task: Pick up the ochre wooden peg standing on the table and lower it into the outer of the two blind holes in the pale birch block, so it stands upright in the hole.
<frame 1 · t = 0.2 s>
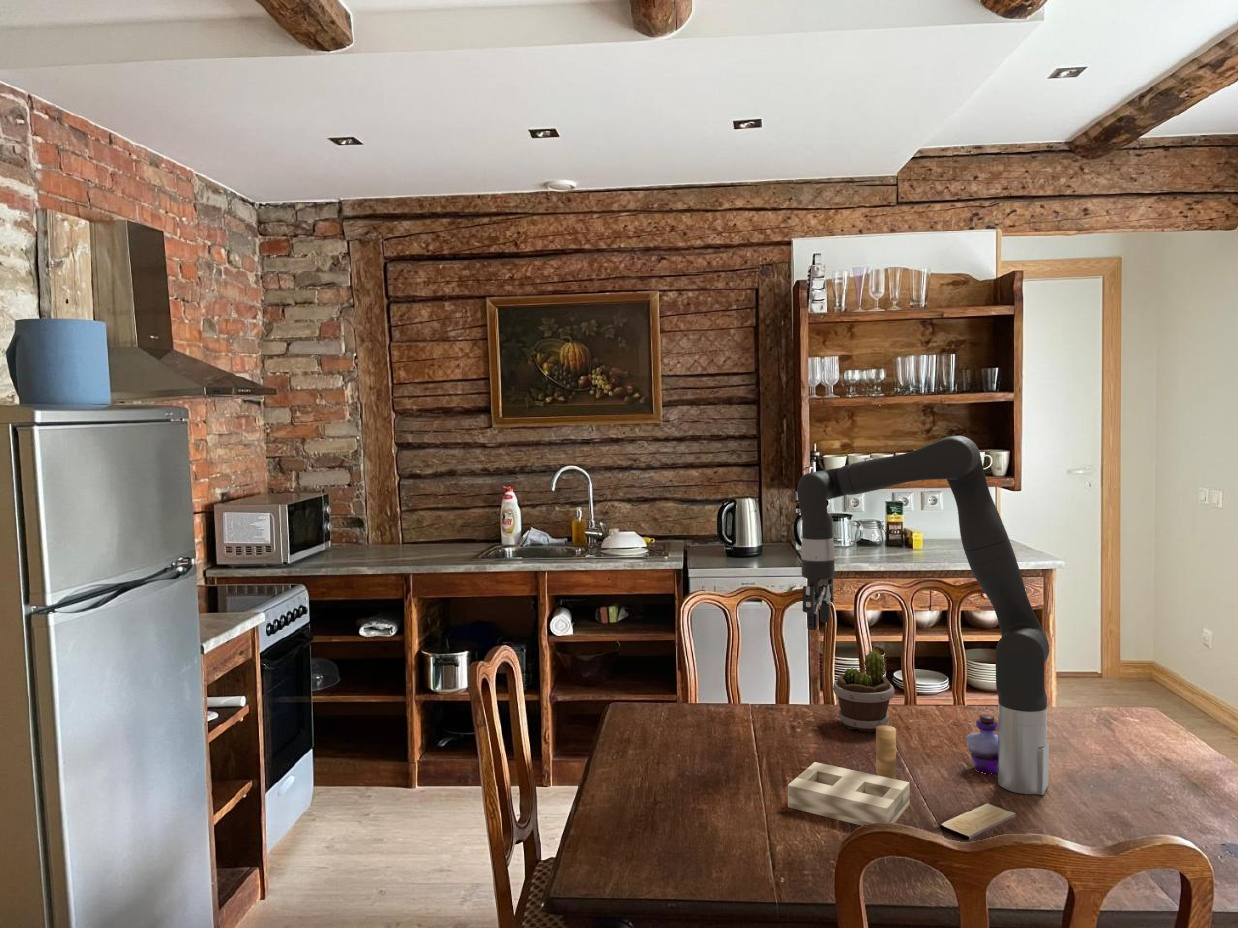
hand: (818, 625, 210), 29 cm above the table, tool pointing down, fingers open, 8 cm apart
flowerpot: (863, 726, 225), on the table
potion bottle: (986, 770, 196), on the table
hole block: (848, 805, 180), on the table
peg: (886, 784, 190), on the table
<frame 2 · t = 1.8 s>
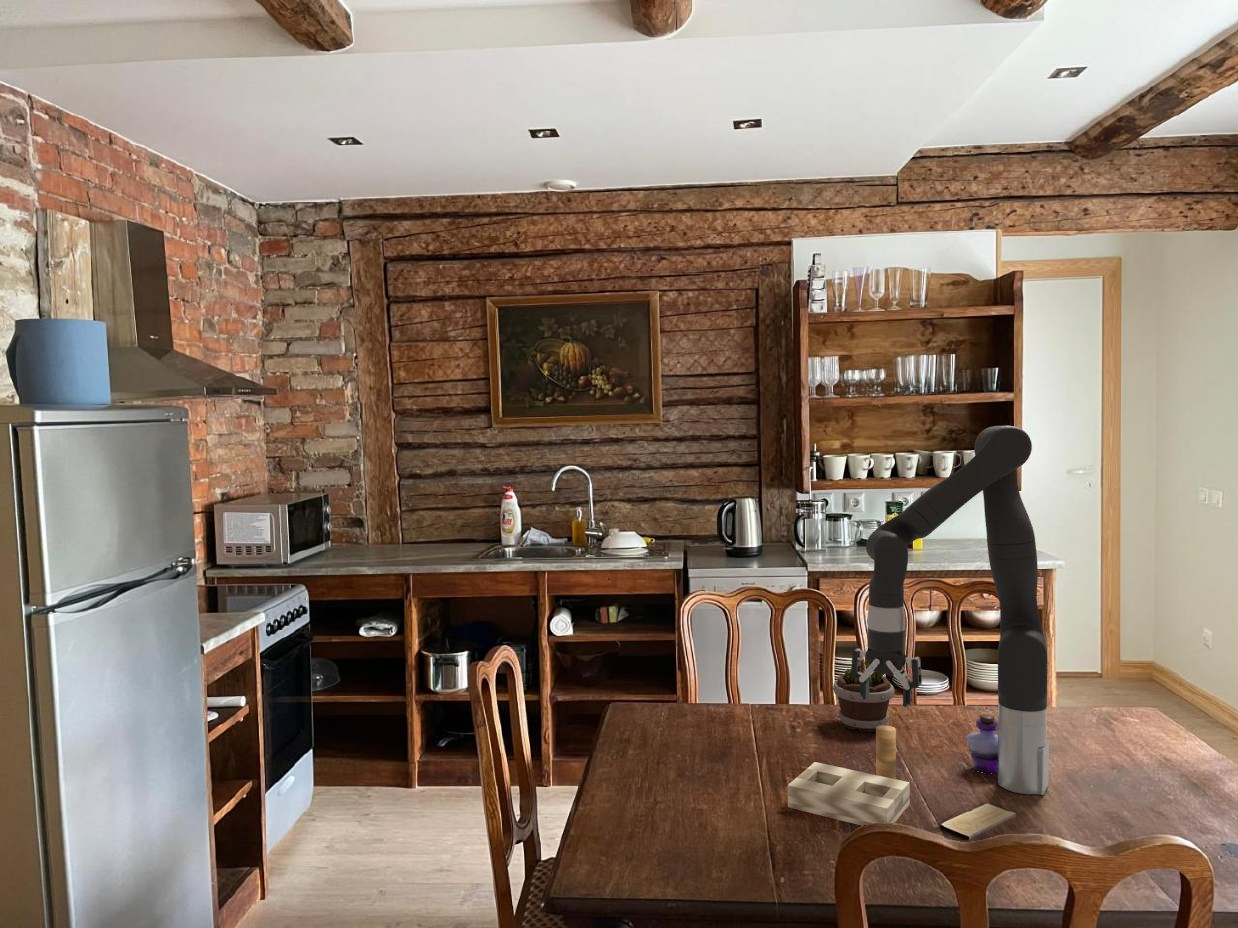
hand: (885, 702, 189), 18 cm above the table, tool pointing down, fingers open, 8 cm apart
nothing on the table moved.
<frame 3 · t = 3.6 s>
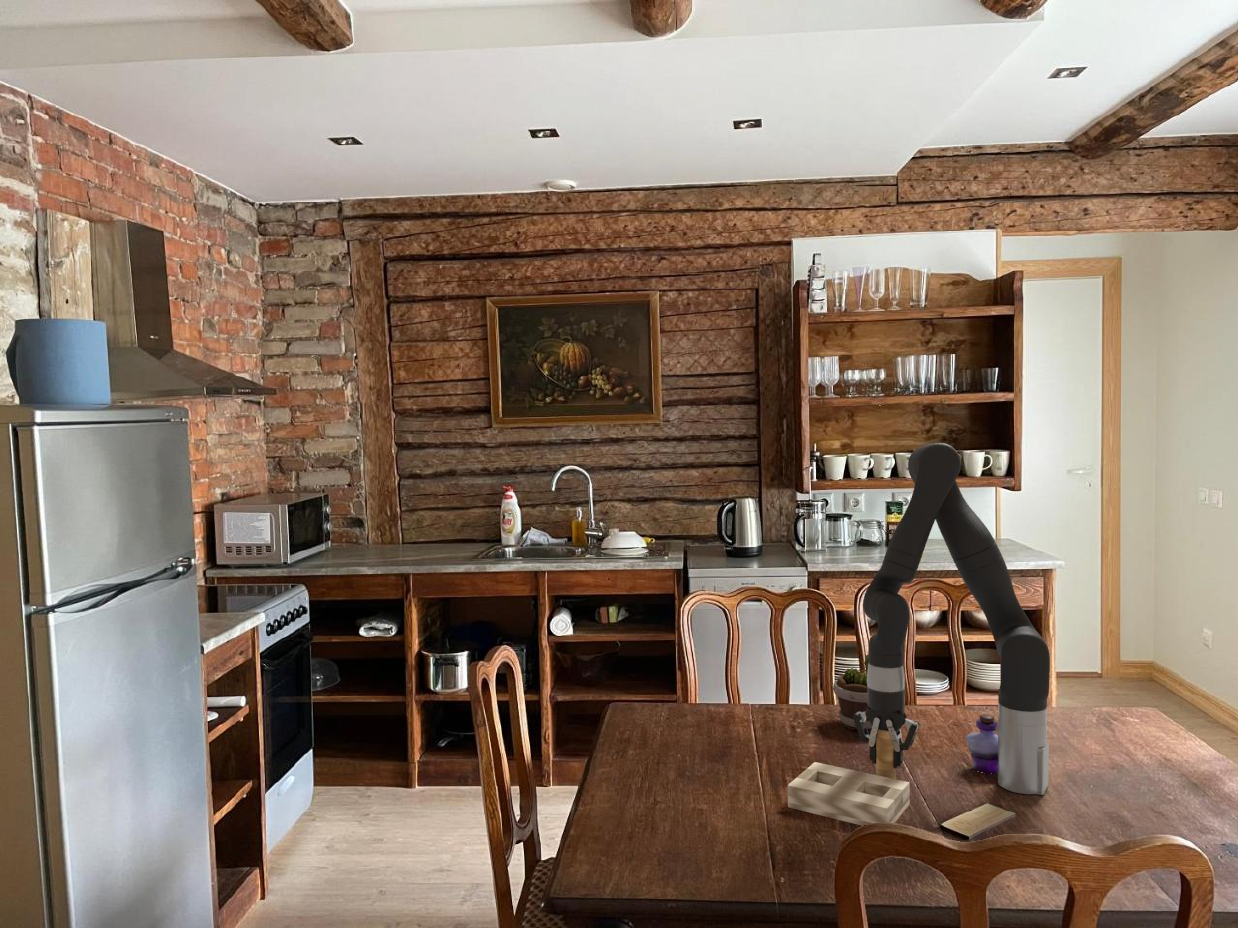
hand: (886, 764, 189), 4 cm above the table, tool pointing down, fingers closed on peg, 4 cm apart
peg: (886, 784, 190), on the table, touching gripper
everything else where it was.
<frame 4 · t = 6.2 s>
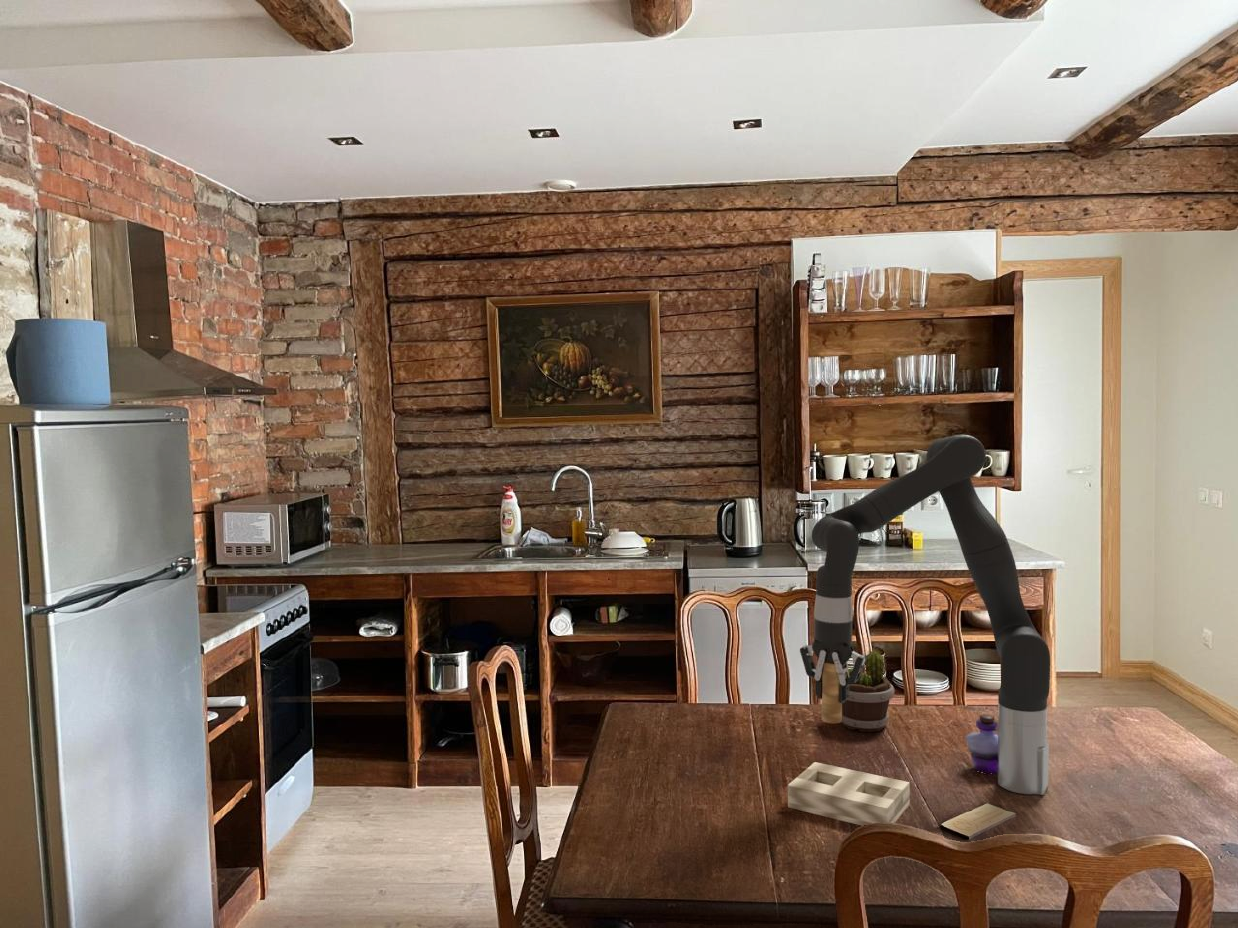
hand: (831, 699, 183), 20 cm above the table, tool pointing down, fingers closed on peg, 4 cm apart
peg: (831, 719, 184), point 16 cm above the table, touching gripper
everything else where it was.
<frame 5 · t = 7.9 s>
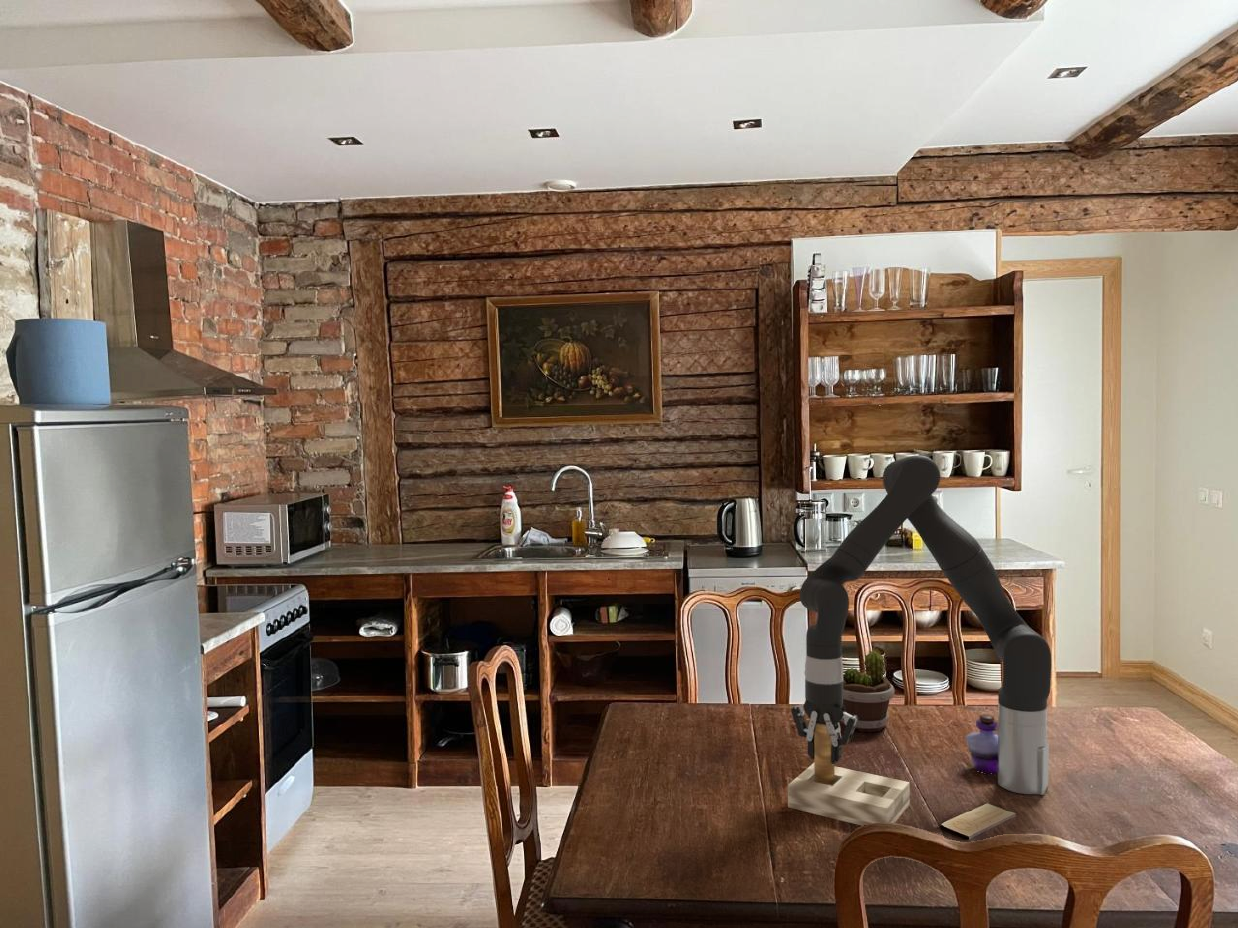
hand: (824, 759, 182), 8 cm above the table, tool pointing down, fingers closed on peg, 4 cm apart
peg: (824, 780, 182), point 4 cm above the table, touching gripper
everything else where it was.
when the fingers open (6 cm above the table, at t = 9.1 s): peg stays where it is, resting on hole block.
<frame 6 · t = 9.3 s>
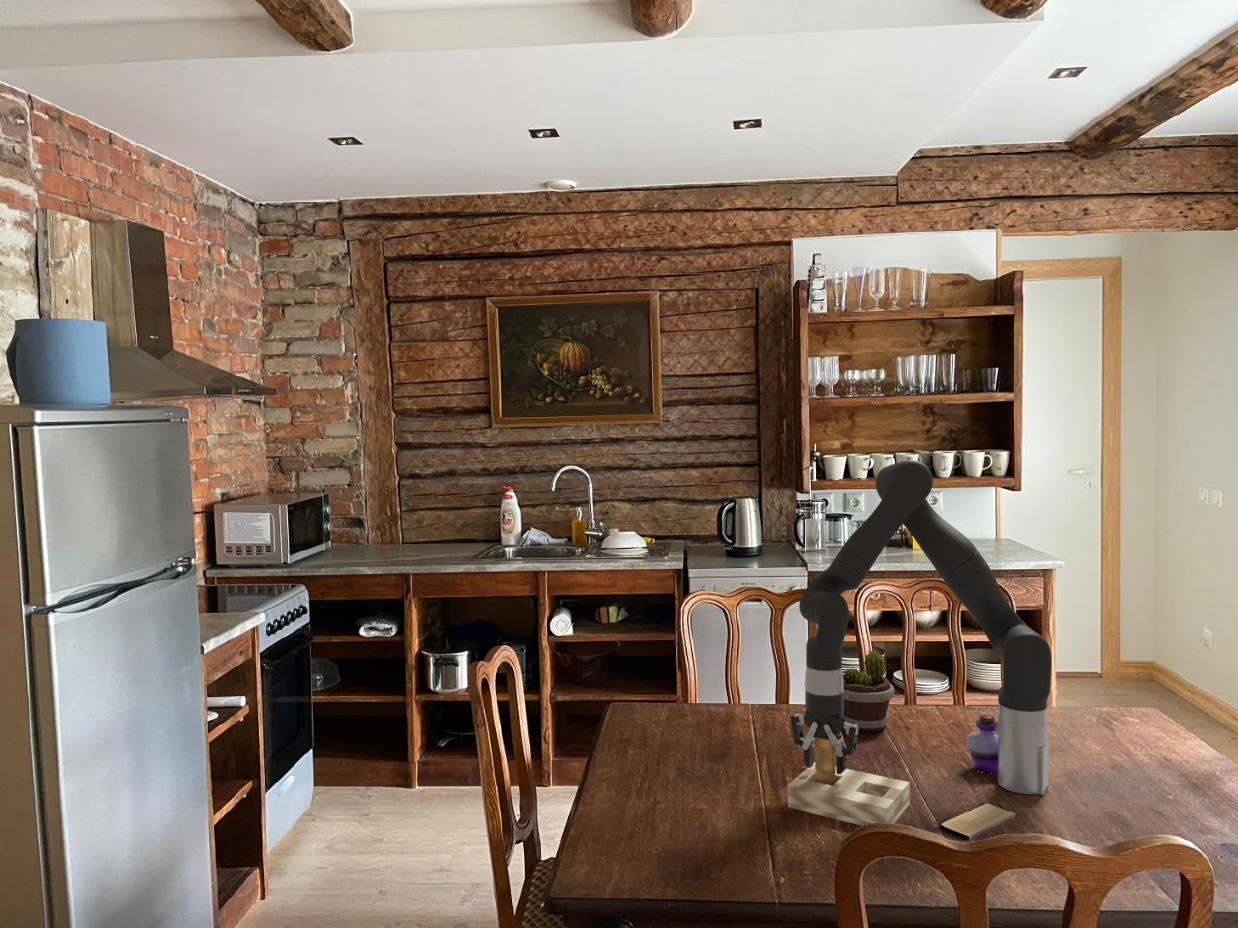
hand: (824, 769, 182), 6 cm above the table, tool pointing down, fingers open, 6 cm apart
peg: (825, 794, 183), point 1 cm above the table, touching hole block
everything else where it was.
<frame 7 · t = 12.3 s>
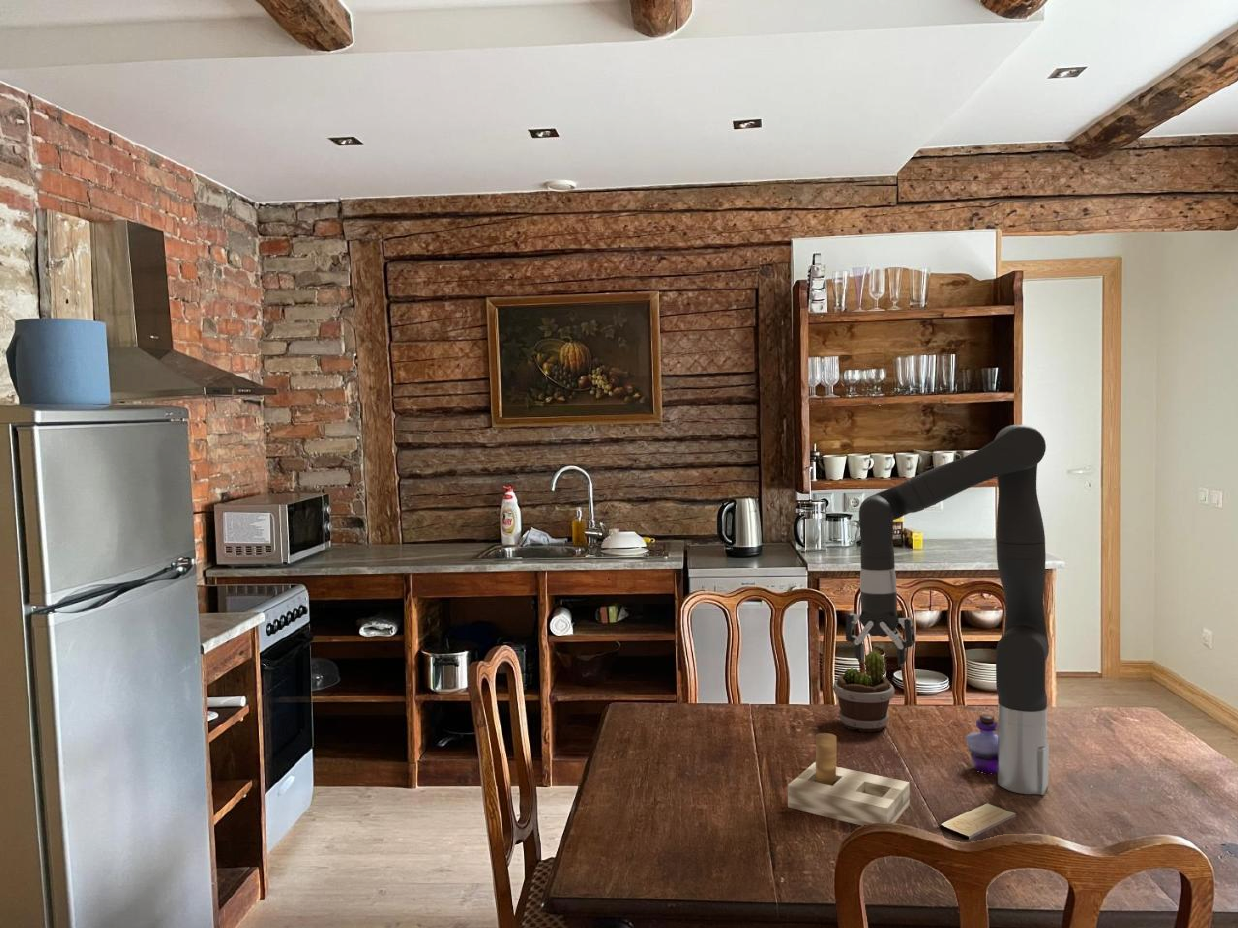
hand: (880, 663, 194), 24 cm above the table, tool pointing down, fingers open, 8 cm apart
nothing on the table moved.
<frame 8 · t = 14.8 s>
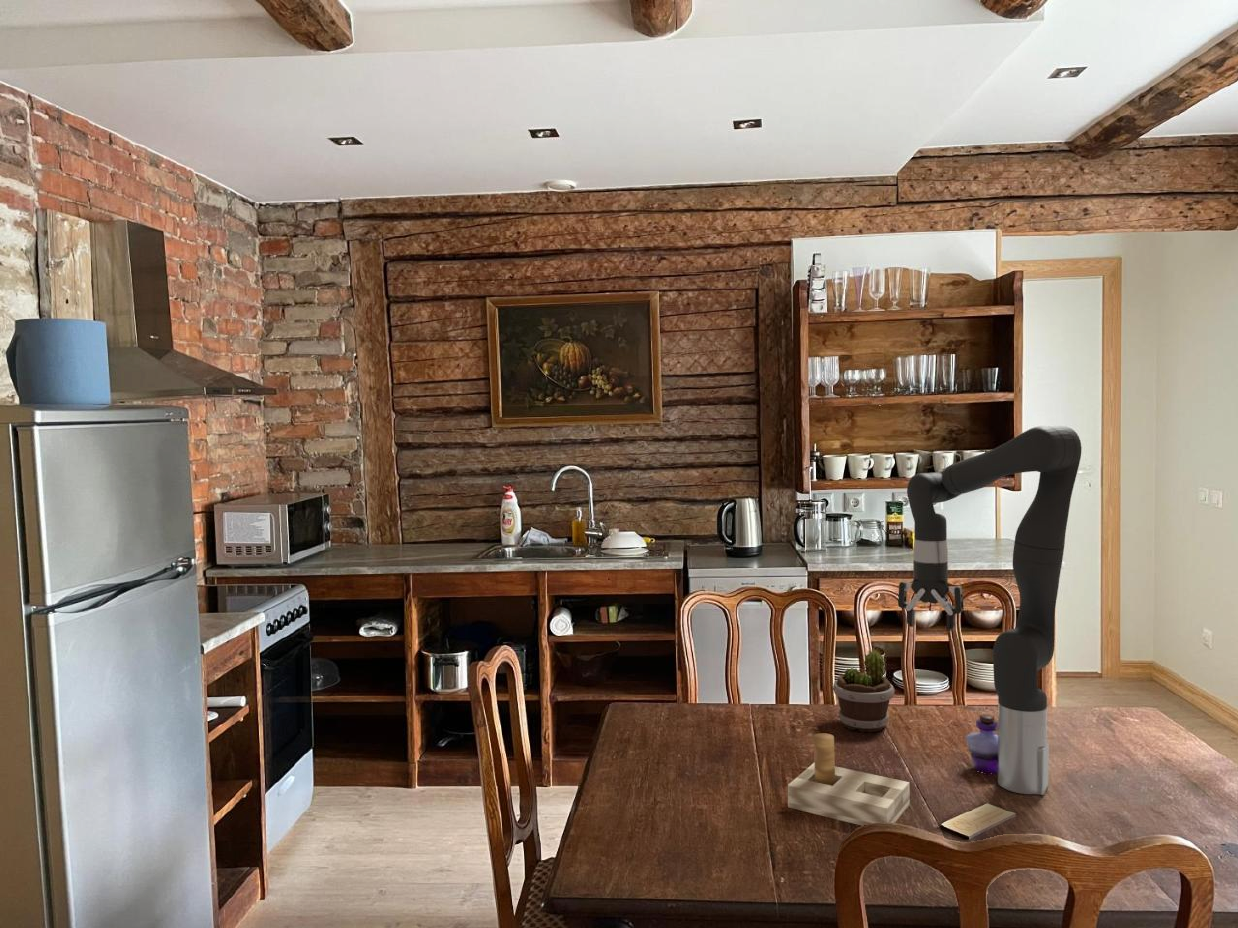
hand: (930, 628, 208), 28 cm above the table, tool pointing down, fingers open, 8 cm apart
nothing on the table moved.
at the end: peg 0.1 cm from the target spot on the hole block, point 1.2 cm above the hole block's base; peg tilted 2°; the gripper is holding nothing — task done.
